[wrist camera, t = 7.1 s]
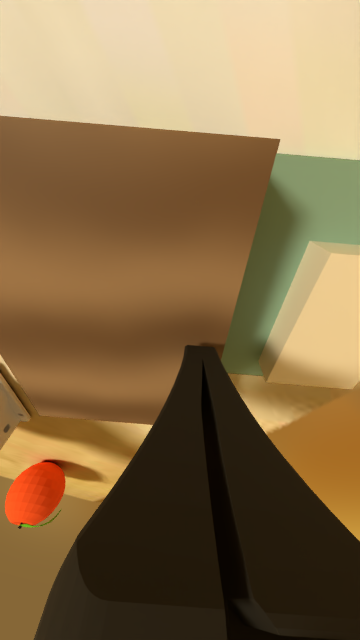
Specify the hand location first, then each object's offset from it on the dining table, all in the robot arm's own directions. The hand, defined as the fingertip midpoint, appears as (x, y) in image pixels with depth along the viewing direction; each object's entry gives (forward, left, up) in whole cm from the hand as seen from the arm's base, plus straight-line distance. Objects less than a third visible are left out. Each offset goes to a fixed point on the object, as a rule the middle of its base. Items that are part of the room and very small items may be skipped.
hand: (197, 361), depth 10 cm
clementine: (-31, +19, -5) cm, 37 cm away
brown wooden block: (0, +5, -5) cm, 7 cm away
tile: (0, -8, -3) cm, 9 cm away
